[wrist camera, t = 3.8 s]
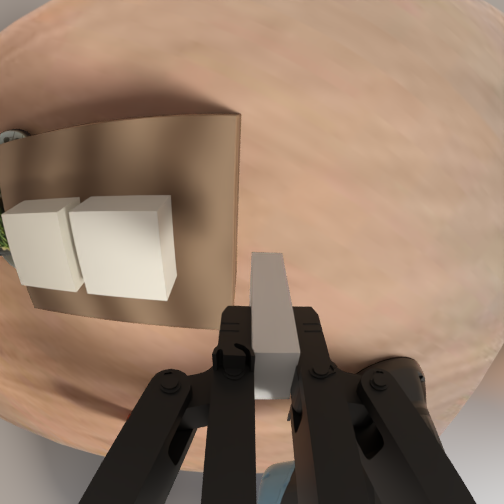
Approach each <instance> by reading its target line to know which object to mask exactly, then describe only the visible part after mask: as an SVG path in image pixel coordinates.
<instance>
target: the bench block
mask: <svg viewBox="0 0 504 504" xmlns="http://www.w3.org/2000/svg"><path fill="white" fill-rule="evenodd" d="M240 133H241V114H181V115H162V116H148V117H136V118H126V119H118V120H109V121H102V122H95V123H88V124H82V125H77V126H72V127H67V128H62V129H58V130H53V131H49V132H45V133H41V134H37V135H32V136H28V137H24V138H20V139H17V140H13V141H9V142H6V143H3V144H0V189H1V195H2V200H3V205H4V210H5V212H6V211H8V210H9V209H11V208H13V207H14V206H16V205H18V204H19V203H21V202H23V201H26V200H39V199H54V198H71V197H80V204H81V203H82V202H84V201H85V200H86V199H88V198H89V197H94V196H128V195H171V207H172V224H173V237H174V250H175V261H176V272H177V277H176V280H175V282H174V285H173V287H172V290H171V292H170V295H169V298H168V300H167V301H162V300H149V299H137V298H126V297H115V296H105V295H96V294H88V293H87V289H86V286H85V282H84V283H83V285H82V286H81V287H80V288H79V290H78V291H77V292H70V291H62V290H54V289H47V288H39V287H33V286H26V287H27V290H28V292H29V295H30V298H31V300H32V303H33V305H34V308H38V309H43V310H48V311H54V312H60V313H65V314H71V315H78V316H84V317H91V318H98V319H105V320H113V321H121V322H130V323H138V324H148V325H158V326H169V327H182V328H195V329H211V330H220V324H221V315H222V312H223V311H224V310H225V308H226V307H227V306H234V297H235V285H236V272H237V228H238V192H239V161H240Z"/></svg>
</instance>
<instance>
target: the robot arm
mask: <svg viewBox="0 0 504 504" xmlns="http://www.w3.org/2000/svg"><path fill="white" fill-rule="evenodd" d="M212 360H213V366H212V367H211V368H210V369H209V370H207V371H205V372H203V373H200V374H195V375H190V376H187V375H186V374H185V373H183V372H181V371H179V370H175V369H168V370H163V371H161V372H159V373H157V374H156V375H155V376H154V377H153V378H152V379H151V381H150V383H149V384H148V386H147V388H146V389H145V391H144V393H143V394H142V396H141V398H140V399H139V401H138V403H137V404H136V406H135V408H134V409H133V411H132V413H131V414H130V416H129V418H128V419H127V421H126V423H125V424H124V426H123V428H122V429H121V431H120V433H119V434H118V436H117V438H116V439H115V441H114V443H113V445H112V446H111V448H110V450H109V451H108V453H107V455H106V457H105V458H104V460H103V462H102V463H101V465H100V467H99V469H98V470H97V472H96V474H95V476H94V477H93V479H92V481H91V483H90V484H89V486H88V488H87V490H86V491H85V493H84V495H83V497H82V498H81V500H80V502H79V504H165V501H166V499H167V497H168V495H169V492H170V490H171V488H172V485H173V483H174V481H175V479H176V477H177V474H178V472H179V470H180V467H181V465H182V463H183V461H184V458H185V456H186V454H187V451H188V449H189V447H190V444H191V442H192V440H193V438H194V435H195V433H196V431H197V428H200V427H205V426H208V427H207V438H206V449H205V460H204V472H203V473H204V474H203V485H202V499H201V504H256V453H255V399H289V397H290V393H291V399H292V404H291V407H290V411H289V414H288V419H287V421H290V419H291V427H292V437H293V448H294V459H295V460H294V461H289V462H283V463H276V464H273V465H271V466H270V467H268V468H267V469H266V471H265V472H264V474H263V477H262V480H261V484H260V488H259V494H258V502H257V504H476V502H475V501H474V499H473V497H472V495H471V494H470V492H469V490H468V489H467V487H466V486H465V484H464V482H463V481H462V479H461V477H460V476H459V474H458V473H457V471H456V469H455V468H454V466H453V464H452V463H451V461H450V460H449V458H448V457H447V455H446V454H445V451H444V449H443V446H442V443H441V441H440V438H439V436H438V433H437V431H436V428H435V426H434V423H433V421H432V419H431V416H430V414H429V411H428V409H427V405H426V388H425V377H424V374H423V371H422V369H421V367H420V365H419V364H418V363H417V362H416V361H415V360H413V359H409V358H394V359H389V360H385V361H382V362H379V363H377V364H374V365H372V366H370V367H368V368H366V369H364V370H362V371H361V372H359V373H357V374H351V373H347V372H344V371H342V370H340V369H338V368H337V366H336V364H334V363H333V362H332V361H331V360H330V357H329V353H328V350H327V346H326V342H325V338H324V335H323V332H322V327H321V325H320V320H319V316H318V314H317V313H316V312H315V311H314V309H313V308H312V307H292V302H291V297H290V292H289V286H288V281H287V276H286V271H285V265H284V260H283V255H282V253H265V252H252V258H251V279H250V306H227V307H226V308H225V310H224V311H223V312H222V315H221V324H220V332H219V341H218V346H217V347H216V348H214V351H213V353H212Z"/></svg>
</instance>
